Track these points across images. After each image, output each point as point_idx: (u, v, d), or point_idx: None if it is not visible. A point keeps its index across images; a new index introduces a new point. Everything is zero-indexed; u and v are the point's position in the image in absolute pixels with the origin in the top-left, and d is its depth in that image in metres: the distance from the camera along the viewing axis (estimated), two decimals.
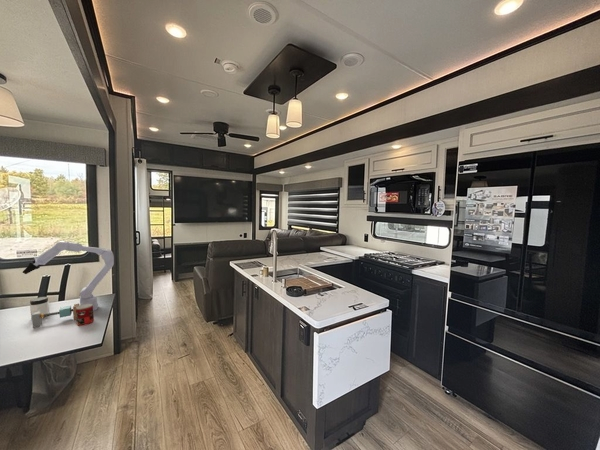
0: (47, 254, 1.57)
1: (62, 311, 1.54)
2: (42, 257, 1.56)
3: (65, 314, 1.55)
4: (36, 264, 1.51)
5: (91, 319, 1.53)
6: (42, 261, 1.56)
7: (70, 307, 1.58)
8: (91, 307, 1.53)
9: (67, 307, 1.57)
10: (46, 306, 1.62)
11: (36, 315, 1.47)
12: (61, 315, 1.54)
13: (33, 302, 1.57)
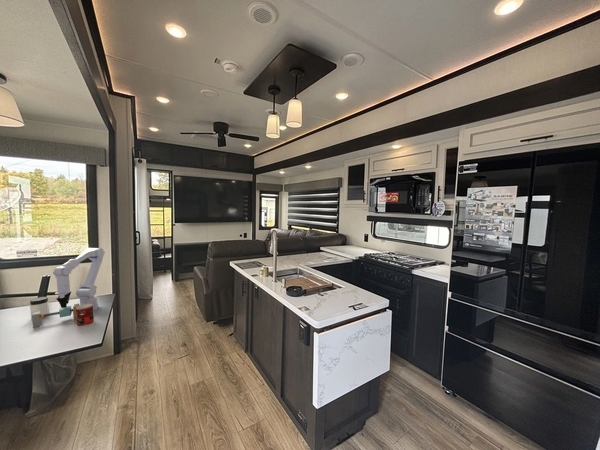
0: (66, 283, 1.55)
1: (62, 311, 1.54)
2: (60, 289, 1.53)
3: (65, 314, 1.55)
4: (62, 296, 1.50)
5: (91, 319, 1.53)
6: (64, 291, 1.54)
7: (70, 307, 1.58)
8: (91, 307, 1.53)
9: (67, 307, 1.57)
10: (46, 306, 1.62)
11: (36, 315, 1.47)
12: (61, 315, 1.54)
13: (33, 302, 1.57)
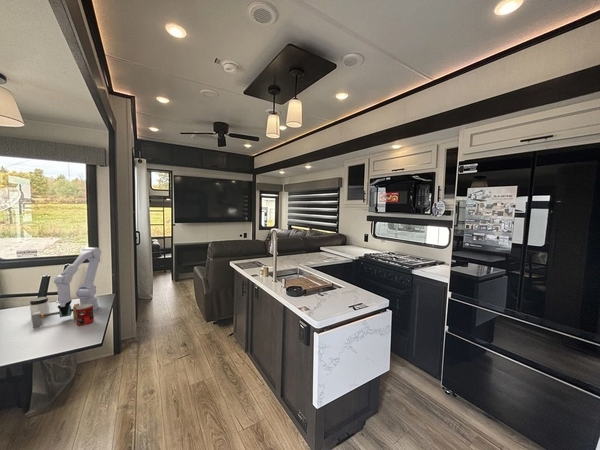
0: (67, 292, 1.55)
1: None
2: (61, 297, 1.53)
3: None
4: (63, 305, 1.51)
5: (91, 319, 1.53)
6: (65, 299, 1.55)
7: (70, 307, 1.58)
8: (91, 307, 1.53)
9: None
10: (46, 306, 1.62)
11: (36, 315, 1.47)
12: (61, 315, 1.54)
13: (33, 302, 1.57)
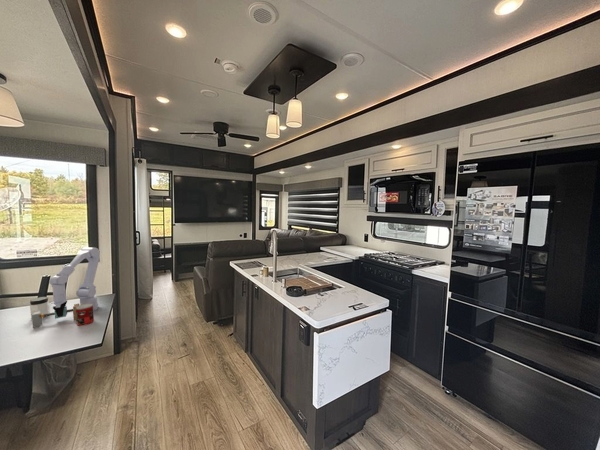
0: (61, 293, 1.54)
1: None
2: (56, 298, 1.52)
3: None
4: (58, 306, 1.49)
5: (91, 319, 1.53)
6: (61, 300, 1.53)
7: (66, 308, 1.57)
8: (91, 307, 1.53)
9: None
10: (46, 306, 1.62)
11: (36, 315, 1.47)
12: (56, 316, 1.53)
13: (33, 302, 1.57)
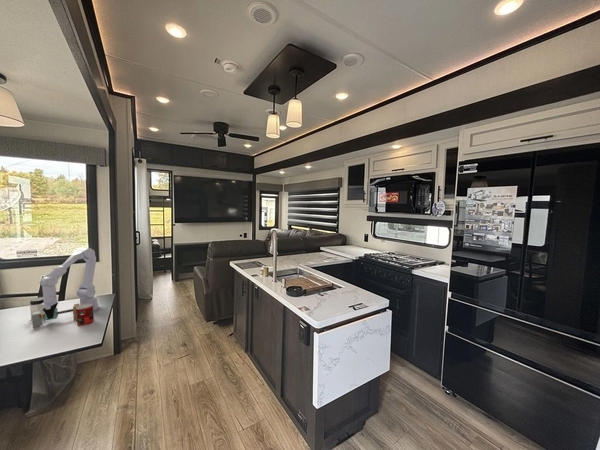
0: (51, 294, 1.51)
1: None
2: (46, 300, 1.50)
3: None
4: (48, 308, 1.47)
5: (91, 319, 1.53)
6: (51, 302, 1.51)
7: (56, 310, 1.54)
8: (91, 307, 1.53)
9: None
10: None
11: (36, 315, 1.47)
12: (46, 318, 1.50)
13: (33, 302, 1.57)
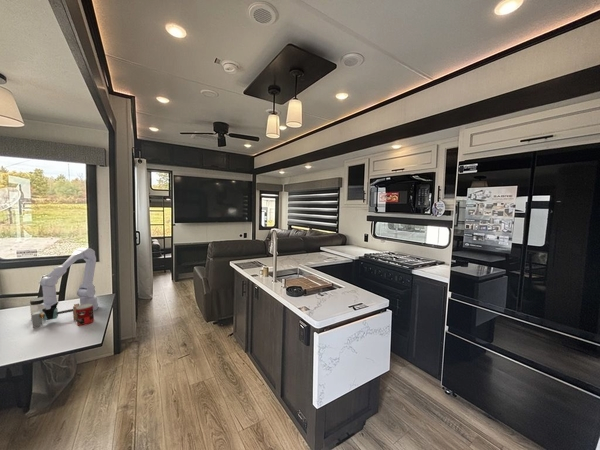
0: (51, 294, 1.51)
1: None
2: (46, 300, 1.50)
3: None
4: (48, 308, 1.47)
5: (91, 319, 1.53)
6: (51, 302, 1.51)
7: (56, 310, 1.54)
8: (91, 307, 1.53)
9: None
10: None
11: (36, 315, 1.47)
12: (46, 318, 1.50)
13: (33, 302, 1.57)
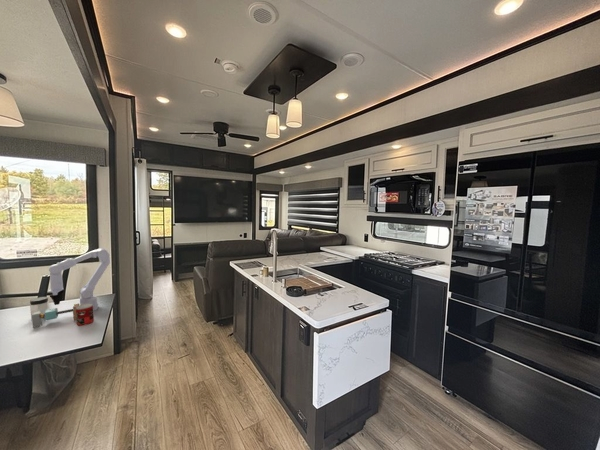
0: (55, 282, 1.58)
1: (48, 314, 1.50)
2: (53, 286, 1.58)
3: (51, 317, 1.51)
4: (55, 293, 1.55)
5: (91, 319, 1.53)
6: (58, 288, 1.59)
7: (56, 310, 1.54)
8: (91, 307, 1.53)
9: (53, 310, 1.53)
10: (46, 306, 1.62)
11: (36, 315, 1.47)
12: (46, 318, 1.50)
13: (33, 302, 1.57)
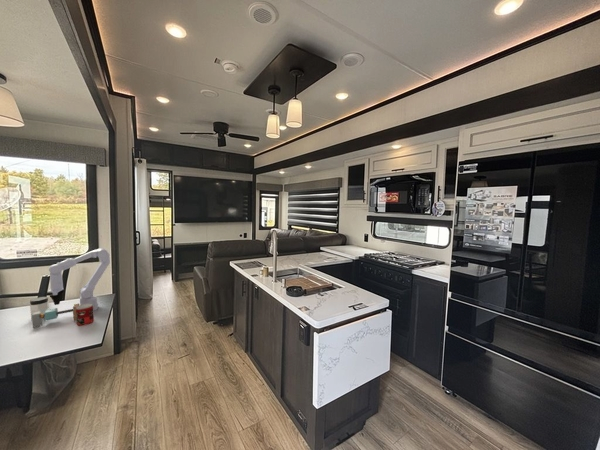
0: (55, 282, 1.58)
1: (48, 314, 1.50)
2: (53, 286, 1.58)
3: (51, 317, 1.51)
4: (55, 293, 1.55)
5: (91, 319, 1.53)
6: (58, 288, 1.59)
7: (56, 310, 1.54)
8: (91, 307, 1.53)
9: (53, 310, 1.53)
10: (46, 306, 1.62)
11: (36, 315, 1.47)
12: (46, 318, 1.50)
13: (33, 302, 1.57)
